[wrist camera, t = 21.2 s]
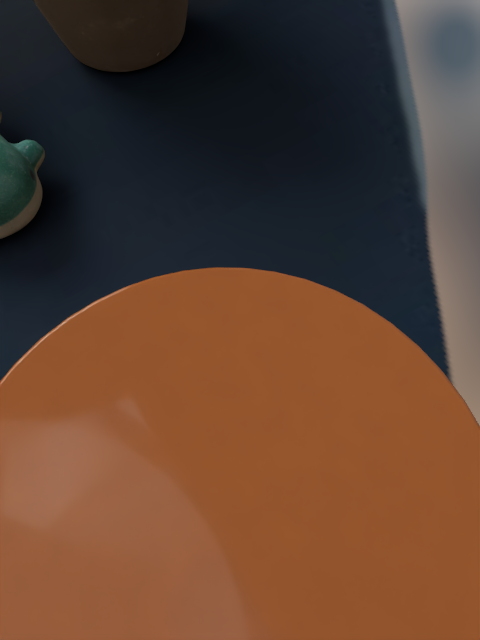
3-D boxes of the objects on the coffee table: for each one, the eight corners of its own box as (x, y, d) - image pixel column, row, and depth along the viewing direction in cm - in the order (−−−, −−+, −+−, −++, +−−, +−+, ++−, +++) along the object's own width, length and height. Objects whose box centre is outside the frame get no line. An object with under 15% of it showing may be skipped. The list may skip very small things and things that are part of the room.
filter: (432, 558, 14) (851, 683, 4) (189, 751, 12) (-37, 1690, 2) (275, 337, 16) (309, 114, 7) (62, 467, 15) (-266, 404, 5)
